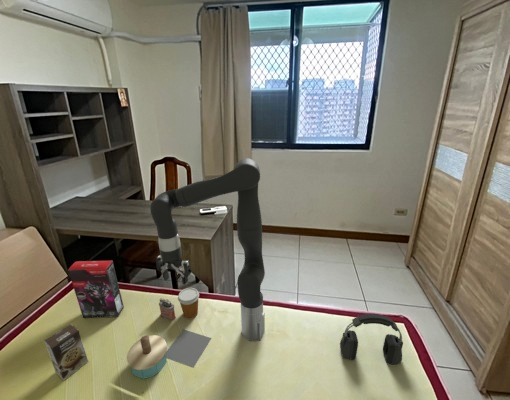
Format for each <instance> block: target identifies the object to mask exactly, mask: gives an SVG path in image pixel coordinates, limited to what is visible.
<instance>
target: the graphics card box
mask: <svg viewBox="0 0 510 400" xmlns="http://www.w3.org/2000/svg"><path fill="white" fill-rule="evenodd" d="M114 265H115V264H114V261H113V260H112V259H111V260H89V261H88V260H85V261H84V260H79V261H74V263H73V264H71V266H70V267H69V268H68V269H67V270H68V274H69V277H70V281H71V284H72V288H73V290H74V294H75V296H76V300H77V302H78V303H77V304H78V306H79V309H80V312H81V317H82V318H83V319H91V318H93V319H95V318H116V317H117V318H118V317H119V316H120V315H121V314H122V312H123V310H124V308H125V306H124V302H123V299H122V293H121V290H120V287H119V282H118V278H117V274H116V270H115V269H116V268H115V266H114Z"/></svg>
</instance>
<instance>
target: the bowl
mask: <svg viewBox="0 0 510 400" xmlns="http://www.w3.org/2000/svg"><path fill="white" fill-rule="evenodd" d="M166 363H167V358H166V355H165V356H164V357H163V359H162V360H161V361H160V362H159V363H157V364H156V365H155V366H153V367H151V368H148V369H145V370H136V369H133V368H131V367H130V369H131V372H132V375H133V376H136V377H137V378H139V379H142V380H145V379H146V378H147V379H148V378H151V377H153V376H155V375H158V374H159V372H161V370H162V369H163V368H164V366H165V364H166Z"/></svg>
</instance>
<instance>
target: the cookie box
mask: <svg viewBox="0 0 510 400" xmlns="http://www.w3.org/2000/svg"><path fill="white" fill-rule="evenodd" d="M82 340H83V339H82V337H81V334H80V331H79V329H77V328H76V327H74V325H73V324H71V323H69V324H68V325H67V326H64V327H63V328H62V329H60V330H58V331H57V332H56V333H54V334H52V335H50V336H49V337H47V338H46V339H44V340H43V341H44V343H45V344H44V345H45V346H46V347H45V348H46V350H47V352H48V354H49V357H50V361H51V362H52V366H53V369H54V372H55V373H56V375H57V376H58V377H60V379H61V380H63V381H65V380H66V379H68V378H69V377H70V376H72V375H73V374H74V373H76V372H77V371H78V370H79V369H81V368H82V367H84V366H85V365H86V364H88V363H89V359H88V356H87V353H86V349H85V347H84V343H83V341H82Z"/></svg>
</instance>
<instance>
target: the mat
mask: <svg viewBox="0 0 510 400" xmlns="http://www.w3.org/2000/svg"><path fill="white" fill-rule="evenodd" d="M211 340H212V337H209V336H207V335H203V334H200V333H197V332H193V331H191V330H188V329H184V328H183V329H182V330H181V331H180V333H179V335H177V337H176V338H175V339H174V341H173V342H172V343H171V344H170V346H169V348H167V351H166V354H165V355H166V359H168V360H171V361H174V362H177V363H180V364H183V365H185V366H188V367H191V368H195V366H196V364H197V363H198V362H199V359H200V358H201V356H202V355H203V353H204V352H205V350H206V348H207V347H208V345H209V343H210V341H211Z"/></svg>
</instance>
